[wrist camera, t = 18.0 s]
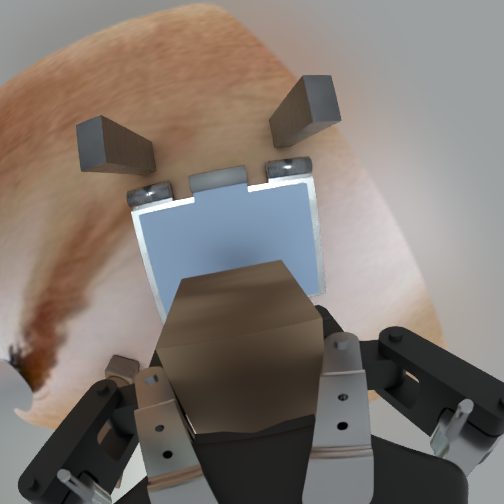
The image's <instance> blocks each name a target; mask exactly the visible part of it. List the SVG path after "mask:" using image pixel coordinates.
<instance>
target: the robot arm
mask: <svg viewBox="0 0 504 504" xmlns="http://www.w3.org/2000/svg"><path fill="white" fill-rule="evenodd" d="M315 308H316V309H317V311H318V312H319V314H320V315H321V317H322V320H323V338H324V353H323V363H322V373H320V383H319V394H318V403H317V412H316V418H315V416H314V414H311V415H307V416H303V417H299V418H295V419H291V420H286V421H283V422H281V423H278V424H276V425H274V426H271V427H269V428H266V429H264V430H261V431H258V432H255V433H243V432H226V431H222V432H212V433H201V434H195V433H194V430H193V428H192V426H191V423H190V421H189V419H188V417H187V415H186V413H185V411H184V409H183V407H182V405H181V403H180V401H179V399H178V397H177V395H176V393H175V391H174V389H173V387H172V385H171V383H170V381H169V379H168V376H167V374H166V372H165V370H164V368H163V365H162V363H161V361H160V358H159V356H158V354H157V351H156V348H155V351H154V352H155V353H154V354H153V357H152V360H151V362H150V365H149V368H146V369H144V370H142V371H140V372H139V373H138V374H137V375H136V377H135V380H134V382H135V383H133V384H130V385H127V386H123V387H118V385H117V384H116V382H115V381H113V380H111V379H105V380H101V381H98V382H96V383H95V384H93V385H92V386H91V387H90V389H89V390H88V391H87V392H86V393H85V395H84V396H83V397H82V398H81V399H80V401H79V402H78V403H77V404H76V406H75V407H74V408H73V409H72V410H71V412H70V413H69V414H68V415H67V417H66V418H65V419H64V420H63V422H62V423H61V424H60V425H59V427H58V428H57V429H56V430H55V432H54V433H53V434H52V436H51V437H50V438H49V439H48V441H47V442H46V443H45V444H44V446H43V447H42V448H41V450H40V451H39V452H38V454H37V455H36V456H35V458H34V459H33V460H32V461H31V463H30V464H29V466H28V467H27V468H26V470H25V471H24V472H23V474H22V475H21V476H20V478H19V481H18V489H19V492H20V493H21V495H22V496H23V497H24V498H25V499H27V500H28V501H29V502H31V503H32V504H112V500H111V496H110V495H111V493H112V491H113V490H114V488H115V486H116V484H117V482H118V480H119V478H120V477H121V475H122V473H123V471H124V469H125V467H126V465H127V463H128V462H129V460H130V458H131V456H132V454H133V452H134V450H135V448H136V446H137V445H138V443H139V442H140V447H141V452H142V456H143V460H144V464H145V469H146V472H147V476H146V477H145V478H143V479H142V480H141V481H140V482H139V483H138V484H137V485H135V486H134V487H133V488H132V489H131V490H130V491H129V492H127V493H126V494H125V495H124V496H123V497H121V498H120V499H119V500H118V501H116V502H115V503H114V504H468V481H467V478H466V477H467V476H468V475H469V474H470V473H471V472H472V470H473V469H474V468H475V467H476V466H477V465H478V464H480V463H482V462H483V461H484V460H485V459H486V458H487V457H488V455H489V454H490V453H491V452H492V451H493V449H494V448H495V447H496V446H497V444H498V443H499V442H500V440H501V439H502V438H503V436H504V383H503V382H502V381H500V380H498V379H496V378H494V377H493V376H491V375H489V374H487V373H486V372H483V371H482V370H480V369H478V368H476V367H475V366H473V365H471V364H469V363H467V362H466V361H464V360H462V359H460V358H459V357H457V356H455V355H453V354H451V353H450V352H448V351H446V350H444V349H442V348H441V347H439V346H437V345H435V344H433V343H432V342H430V341H428V340H426V339H424V338H422V337H421V336H419V335H417V334H415V333H413V332H412V331H410V330H408V329H406V328H403V327H398V326H394V327H388V328H386V329H384V330H382V331H381V332H380V334H379V340H370V341H359V339H358V337H357V336H356V335H354V334H352V333H349V332H344V331H343V330H342V328H341V327H340V326H339V324H338V323H337V322H336V321H335V319H334V318H333V317H332V315H330V313H329V312H328V310H327V309H326V308H324V307H322V306H320V305H316V306H315ZM406 371H407V372H409V373H410V374H412V375H413V376H415V377H416V378H417V379H418V381H419V383H418V382H417V381H415V380H414V379H413V378H411V377H410V376H408V375H407V374H406ZM367 390H375V392H376V393H377V394H379V395H380V396H381V397H382V398H383V399H385V400H386V401H387V402H388V403H389V404H391V405H392V406H393V407H394V408H395V409H397V410H398V411H399V412H400V413H401V414H403V415H404V416H405V417H406V418H408V419H409V420H410V421H411V422H412V423H414V424H415V425H416V426H417V427H419V428H420V429H421V430H422V431H423V432H425V433H426V434H427V435H429V436H430V437H431V438H430V445H431V448H432V449H433V451H434V455H435V456H433V455H429V454H426V453H423V452H420V451H416V450H413V449H410V448H407V447H404V446H401V445H398V444H395V443H393V442H390V441H387V440H385V439H382V438H379V437H376V436H374V435H372V434H371V431H370V415H369V402H368V391H367ZM106 422H107V423H108V424H109V426H110V427H111V428H110V429H109V431H108V432H107V434H106V435H105V437H104V439H103V440H102V442H101V443H100V445H99V443H98V440H97V437H98V434H99V432H100V430H101V429H102V427H103V426H104V424H105V423H106Z"/></svg>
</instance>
